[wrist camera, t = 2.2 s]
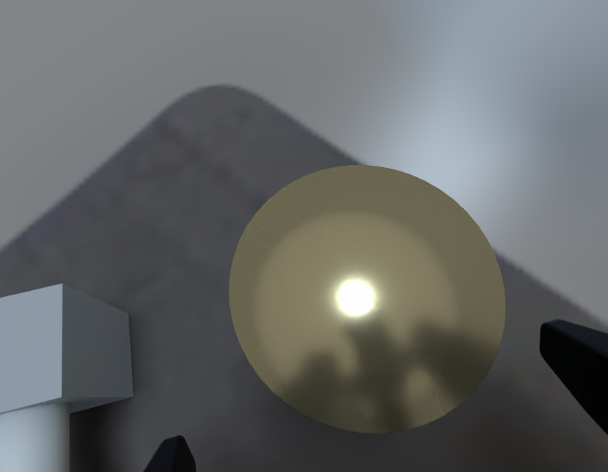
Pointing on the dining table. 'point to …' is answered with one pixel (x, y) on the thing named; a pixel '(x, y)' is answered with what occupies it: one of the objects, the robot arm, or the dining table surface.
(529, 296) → the dining table surface
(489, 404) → the dining table surface
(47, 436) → the shaft on bearing block
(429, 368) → the olive pillar candle
